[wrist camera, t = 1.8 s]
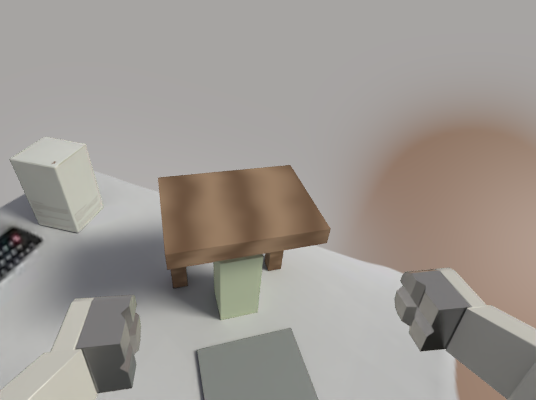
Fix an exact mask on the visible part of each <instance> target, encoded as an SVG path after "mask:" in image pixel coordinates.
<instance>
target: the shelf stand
mask: <svg viewBox="0 0 536 400" xmlns="http://www.w3.org/2000/svg"><path fill="white" fill-rule="evenodd" d="M158 182H159V193H160V204H161V215H162V226H163V237H164V248H165V257H166V264H167V270H169V269H171V276H172V283H173V288H178V287H183V286H188V283H187V273H186V267H187V266H193V265H199V264H205V263H211V262H217V261H223V260H229V259H235V258H241V257H247V256H253V255H259V254H264V253H265V264H266V266H267V269H268V271H271V270H276V269H281V264H282V257H283V251H284V250H288V249H294V248H300V247H306V246H312V245H318V244H323V243H327V240H328V236H329V233H330V227H329V226H328V224H327V222H326V221H325V219H324V218H323V216H322V215H321V213H320V212H319V210H318V208H317V207H316V205H315V204H314V202H313V200H312V199H311V197H310V196H309V194H308V193H307V191H306V189H305V188H304V186H303V185H302V183H301V181H300V180H299V178H298V177H297V175H296V173H295V172H294V170H293V169H292V167H291V166H290V165H286V166H276V167H265V168H254V169H245V170H233V171H223V172H212V173H202V174H191V175H181V176H170V177H161V178H158Z"/></svg>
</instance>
